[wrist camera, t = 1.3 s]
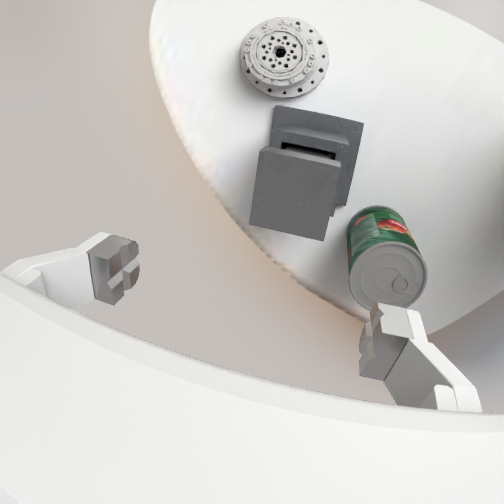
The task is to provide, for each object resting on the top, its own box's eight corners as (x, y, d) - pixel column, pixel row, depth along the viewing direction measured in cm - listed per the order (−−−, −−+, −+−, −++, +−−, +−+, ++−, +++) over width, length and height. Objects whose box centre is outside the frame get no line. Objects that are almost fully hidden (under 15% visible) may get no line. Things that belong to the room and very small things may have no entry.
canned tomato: (337, 251, 40) (336, 300, 30) (359, 195, 36) (367, 230, 26) (391, 271, 39) (404, 322, 29) (416, 218, 35) (441, 259, 26)
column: (338, 139, 33) (340, 167, 18) (329, 181, 35) (323, 241, 20) (294, 130, 33) (259, 150, 19) (287, 172, 36) (249, 224, 21)
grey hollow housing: (363, 122, 32) (376, 130, 22) (345, 203, 37) (348, 244, 26) (277, 105, 34) (251, 105, 23) (265, 185, 38) (236, 218, 28)
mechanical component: (310, 111, 33) (341, 38, 28) (306, 111, 30) (342, 29, 25) (231, 81, 34) (260, 10, 29) (219, 78, 30) (251, -1, 25)
